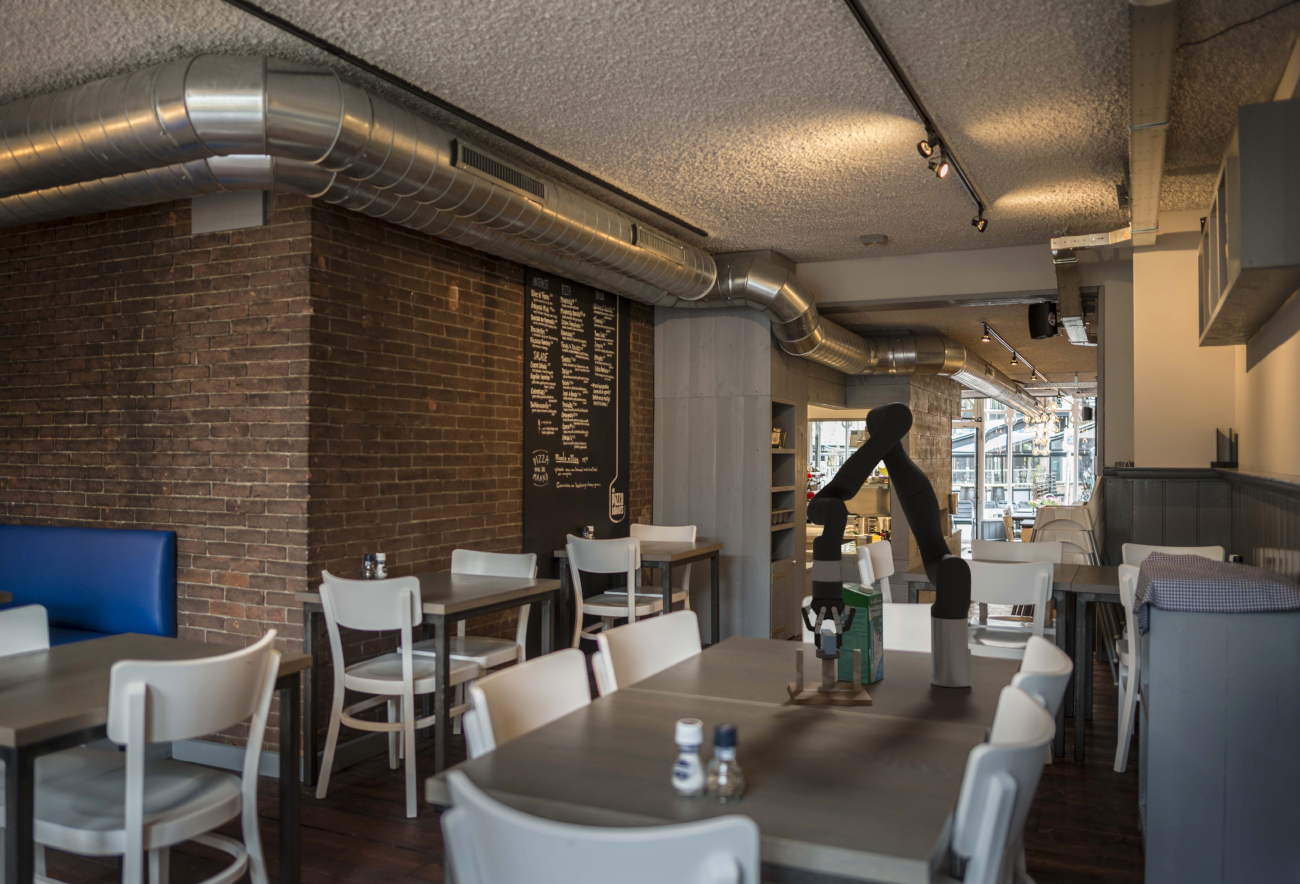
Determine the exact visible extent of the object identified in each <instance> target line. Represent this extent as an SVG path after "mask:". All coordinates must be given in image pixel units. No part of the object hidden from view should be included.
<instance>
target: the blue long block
mask: <svg viewBox="0 0 1300 884" xmlns="http://www.w3.org/2000/svg"><path fill="white" fill-rule="evenodd" d="M835 633H836V632H835ZM835 633H834V632H833V630H831V628H821V629H820V634H821V649H817V648H816V649H815V658H817V659H821V660H822V659H834V660H838V659H839V658H841V651H840V650H839V649H836V634H835Z"/></svg>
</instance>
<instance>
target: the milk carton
mask: <svg viewBox="0 0 1300 884" xmlns="http://www.w3.org/2000/svg"><path fill="white" fill-rule="evenodd" d="M843 601H844V603H845V605H847V606H850V607H851V606H852V607H854V608H855V609H856V612H855V615H854V618H853V621H852V624H851V627H850V630H849V631H846V632H843V634H842V647H840V649H839V650H840V651H841V658H839V659H837V680H838V681H846V682H850V683H853V649H860V650H861V684H865V685H866V684H867V685H871V684H873V683H875V682H877V681H879V680H882V679H884V678H885V677H884V675H885V674H884V672H885V671H884V612H883V611H884V609H883V608H884V606H883V605H884V604H883V602H884V599H883V591H882V592H881V591H879V590H876V589H875V588H874V587H873V586H871V585H868V584H862V583H860V584H859V583H855V582H846V583H843ZM846 617H847V614H846V610H845V609H844V610H843V611H842V613H841V614H840V616H839V620H840V624H841V627H842V626H844V623H845V620H846Z"/></svg>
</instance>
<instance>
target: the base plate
mask: <svg viewBox="0 0 1300 884" xmlns="http://www.w3.org/2000/svg"><path fill="white" fill-rule="evenodd" d="M835 666H836V665H835V659H821V674H822V675H821V681H817V682H816V681H815V682H814V681H804V649H803V648H795V681H794V682H793V681H788V682H787V683H788V684H787V686H788V689H789V692H790V695H791V697H792V699H793V702H794V704H795V705H830V706H831V705H835V706H836V705H837V706H841V705H843V706H844V705H847V706H849V705H850V706H853V705H854V706H856V705H858V706H859V705H860V706H873V699H872V697H871V696H870V695H869V693H868V692H867V690H866V689H865V688H864V687H863V685H862V683H861V650H860V649H853V682H835V680H836V679H835V677H836V675H835V673H836V672H835V671H836V670H835V669H836V668H835Z"/></svg>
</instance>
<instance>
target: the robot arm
mask: <svg viewBox="0 0 1300 884" xmlns="http://www.w3.org/2000/svg"><path fill="white" fill-rule="evenodd" d="M913 423H914V418H913V414H912V411H911V409H910V407H909V406H908V405H906V404H905V403H903V402H897V401H895V402H888V403H885V404H882V405H878V406H875V407H874V408H871V409H869V411H868V413H867V414H866V417H865V425H866V426H865V427H866V429H867V430H866V431H867V432H868V435H869V438H868V439H866V441H865V442H864V443H863V444H862V445H861V446H859V448H858V449H857V450H855V451H854V452H853V453H852V454H851V455H850V456H849V457H848V458H847V459H846V460H845V461H844V462H843V464H842V465H841V466H840V467H839V469H838V470H837V472H836V473H835V475H834V476H833V477H832V479H831V480H830V481H829V482H828V483H827V484H825V485H824V486H823V487H822V488H821V489H820V490H819V491H817V492H816V493H815V495H814V496H813V497H811V499H810V500H809V502H808V505H807V507H806V516H807V519H808V521H809V522H810V523H811V524H813V525H816V526H823V528H822V532H821V535H817V536H815V537H814V538H813V540H812V565H811V596H812V597H811V601H810V604H808V605H805V606H803V605H802V606H800V607H799V610H800V613H801V616H802V618H803V622H804V625H805V628H806V629H807V631H808V632H813V643H814V646H815V647H816V649H821V629H822V628H821V627H822V626H823V622H824V621H828V620H830V621H833V625H834V627H835V634H836V649H840V647H842V634H843V632H846V631H849V630H850V627H851V624H852V621H853V618H854V615H855V612H856V609H855V608H854V607H852V606H851V607H850V606H847V605H845V603H844V601H843V584H844V569H843V560H842V559H843V558H842V557H843V556H842V555H843V553H842V550H843V549H842V544H843V539H844V536H845V531H846V527H847V524H848V518H849V517H848V515H849V513H848V507H847V505H846V503H845V502H846V501H847V502H848V501H851V500H852V499H854V498H855V497H856V495H857V494H858V492H859V491H860V490H861V488H862V487H863V486H864V484H865V482H866V481H867V480H868V478H869V477H870V475H871V474H872V473H873V471H874V470H875V469H876V468H877V466H878V465H879V464H880V462H883V464H884V467H885V469H886V471H887V474H888V476H889V478H890V480H891V483H892V486H893V489H894V490H895V494H896V496H897V497H896V498H897V500H898V502H899V504H900V507H901V509H902V512H903V514H904V516H905V519H906V520H907V524H908V526H909V528H910V530H911V532H912V535H913V537H914V539H915V542H916V545H917V546H918V547H917V548H918V550H919V555H920V557H921V562H922V565H923V568H924V572H925V575H926V578H927V579H928V581H929V582H930V584H931V585H933V586H934V587H935V599H934V602H933V604H931V605H930V647H931V648H930V653H931V654H930V661H931V662H930V663H931V664H930V666H931V667H930V668H931V670H930V671H931V674H930V676H931V683H932V685H934V686H939V687H946V688H965V687H972V648H970V647H969V610H970V608H971V602H972V572H971V568H970V566H969V564H968V562H967V561H966V560H965V559H964V558H962V557H960V556H957V555H954V554H952V552H951V550H950V548H949V545H948V544H947V542H946V539H945V536H944V533H943V530H942V529H943V528H942V525H941V524H942V523H941V510H940V509H941V508H940V504H939V499H938V497H937V494H936V492H935V489H934V487H933V485H932V482H931V481H930V478H929V477H928V476H927V474H926V473H925V472H924V471H923V470H922V469H921V468H920V467H919V466H918V465H917V464H916V463H915V462H914V461H913V460H912V459H911V457H910V456H909V455H908V454H907V452H906V450H905V448H904V447H903V444H902V441H901V440H902V439H903V438H904V437H905V436H906V435H907V434H908V433H909V431H910V430H911V429H912V426H913ZM844 609H845V610H846V614H847V617H846V620H845V623H844V626H842V627H841V624H840V620H839V616H840V614H841V613H842V611H843V610H844ZM811 610H812V611H813V613H814V615H816V618H815V622H814V623H815V624H814V626H813V625H812V624H811V620H810V618H809V615H810V614H811Z"/></svg>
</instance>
